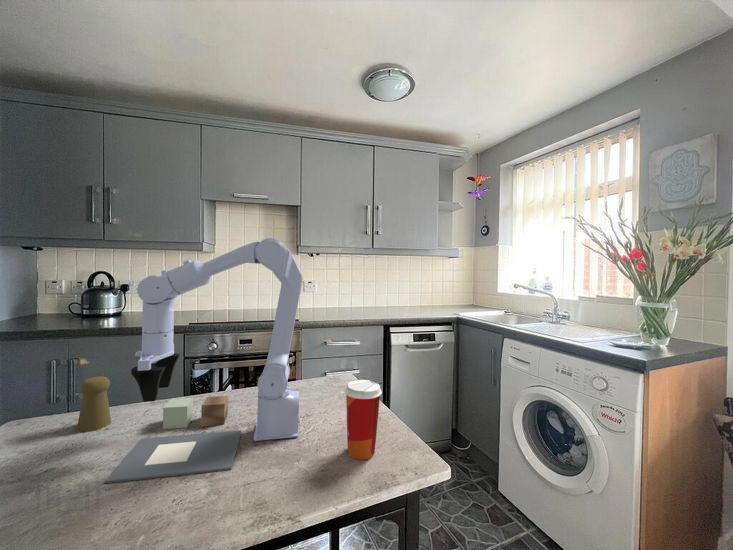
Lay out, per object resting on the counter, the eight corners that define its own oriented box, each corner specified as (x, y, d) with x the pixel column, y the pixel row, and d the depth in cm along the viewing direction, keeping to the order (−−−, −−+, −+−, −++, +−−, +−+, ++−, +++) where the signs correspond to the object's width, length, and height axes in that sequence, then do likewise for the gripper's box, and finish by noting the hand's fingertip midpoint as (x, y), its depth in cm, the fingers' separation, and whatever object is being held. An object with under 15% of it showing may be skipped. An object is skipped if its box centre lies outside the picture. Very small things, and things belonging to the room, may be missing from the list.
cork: (91, 433, 70) (92, 383, 70) (69, 430, 71) (70, 380, 71) (117, 421, 76) (118, 375, 75) (97, 417, 77) (98, 372, 77)
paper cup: (361, 438, 72) (363, 376, 71) (387, 453, 66) (389, 386, 66) (334, 451, 66) (336, 384, 66) (359, 468, 61) (362, 395, 60)
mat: (241, 431, 73) (241, 429, 73) (231, 469, 59) (231, 466, 59) (141, 440, 68) (141, 438, 68) (105, 483, 54) (105, 480, 54)
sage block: (193, 417, 79) (193, 397, 79) (186, 427, 74) (187, 406, 74) (170, 419, 78) (170, 399, 77) (162, 429, 73) (163, 407, 73)
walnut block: (227, 415, 81) (228, 395, 81) (224, 424, 76) (224, 403, 76) (206, 416, 80) (206, 396, 79) (201, 426, 75) (201, 405, 75)
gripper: (150, 325, 75) (149, 382, 75) (120, 338, 61) (118, 409, 61) (184, 325, 77) (182, 381, 77) (161, 337, 63) (160, 406, 63)
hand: (156, 393), depth 69 cm, fingers open, 7 cm apart
